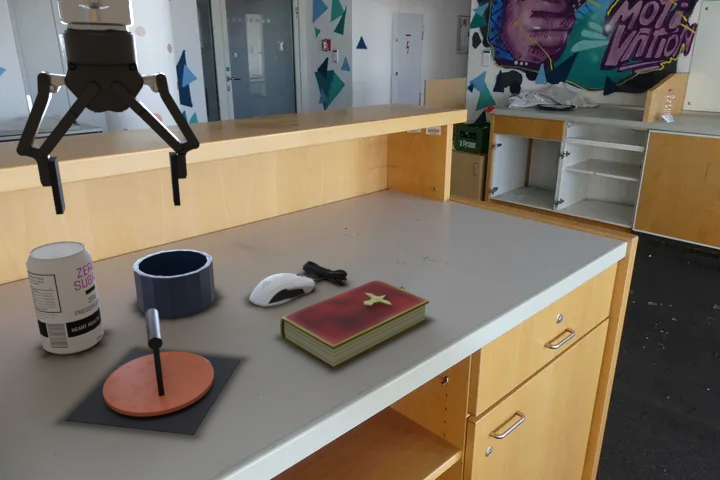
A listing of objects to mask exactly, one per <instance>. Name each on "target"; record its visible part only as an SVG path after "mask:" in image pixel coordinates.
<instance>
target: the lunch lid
mask: <svg viewBox="0 0 720 480" xmlns="http://www.w3.org/2000/svg"><path fill="white" fill-rule="evenodd" d="M144 315H145V316H144V317H145V327H146V338H147V347H148V349H150V350H151V351H153V354H150V355H146V356H143V357H140V358H137V359H135V360H132V361H130V362H128V363H126V364H124V365H123V366H121V367H119V368H118V369H117V370H115V369H114V370H115V371H114V370H113V371H114V372H113V371H112V372H113V373H112V372H111V373H112V374H111V373H110V374H111V375H110V374H109V375H110V376H109V375H108V376H109V377H108V376H107V377H108V379H107V380H106V382H105V384H104V386H103V397H104V400H105V402H106V404H107V405H108V406H109V407H110V408H111V409H113V410H114V411H116V412H119V413H121V414H125V415H130V416H140V417H144V416H157V415H162V414H167V413H171V412H174V411H177V410H180V409H182V408H185V407H187V406H189V405H191V404H193V403H194V402H196V401H197V400H199V399H200V398H201V397H203V396H204V395H205V394H206V393H207V392H208V390H209V389H210V388H211V386H212V384H213V381H214V370H213V367H212V365H211V364H210V362H209V361H208V360H206V359H205V358H203V357H201V356H202V355H200V354H196V353H192V352H188V351H179V350H178V351H160V349H161V348H162V346H163V344H164V343H163V335H162V327H161V321H160V319H161V318H159V312H158V311H157V310H156V309H149V310H147V311H146V314H144Z"/></svg>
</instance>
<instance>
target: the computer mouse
mask: <svg viewBox="0 0 720 480" xmlns="http://www.w3.org/2000/svg"><path fill="white" fill-rule="evenodd" d="M301 270H302V271H304V272H305V273H306V274H307V275H316V276H318V277H321V278H318V279H312V278H309V277H308V276H304V274H303V273H288V272H285V273H275V274H272V275H270V276H269V275H268V276H267V277H265V278H264V279H262V280H261V281H260V282H259V283H258V284H257V285H256V287H255V288H254V289H253V290H252V292H251V294H250V296H249V297H248V300H249V301H250V302H251V303H252V304H253V305H255V306H258V307H260V308H261V307H262V308H271V307H276V306H280V305H283V304H286V303H288V302H290V301H291V300H293V299H295V298H298V297H300V296H303V295H306V294H309V293H311V292H312V291H313V290H314V288H315V287H316V282H319V281H322V280H325V279H329V280H332V279H333V280H334V281H336V282H337V283H338V284H340V285H341V286H344V282H347V281H348V278H347V276H348V272H347V270H344V269H335V270H333V269H330V268H326V267H324V266H321V265H319V264H318V263H317V262H314V261H311V260H307V261H306V262H305V263H304V264H302V268H301ZM343 281H344V282H343Z"/></svg>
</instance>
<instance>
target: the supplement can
mask: <svg viewBox="0 0 720 480" xmlns="http://www.w3.org/2000/svg"><path fill="white" fill-rule="evenodd" d="M25 266H26V271H27V277H28V280H29V286H30V291H31V296H32V300H33V306H34V310H35V311H34V312H35V316H36V321H37V325H38V330H39V335H40V339H41V345H42V349H43V350H45V351H46V352H48V353H52V354H55V355H71V354H76V353H80V352H83V351H87V350H88V349H91V348H92V347H94V346H95V345H97V343H99V342H100V341H101V340H102V339H103V337H104V334H105V333H104V326H103V320H102V314H101V307H100V299H99V294H98V287H97V282H96V275H95V268H94V262H93V256H92V254H91V252H90V251H89V250H88V248H87V247H86V246H85V244H84V243H82V242H80V241H76V240H75V241H74V240H61V241H54V242H53V241H52V242H49V243H45V244H41V245H38V246H36V247H34V248H32V249H31V250H30V251H29V252H28V257H27V260H26V262H25Z"/></svg>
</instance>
